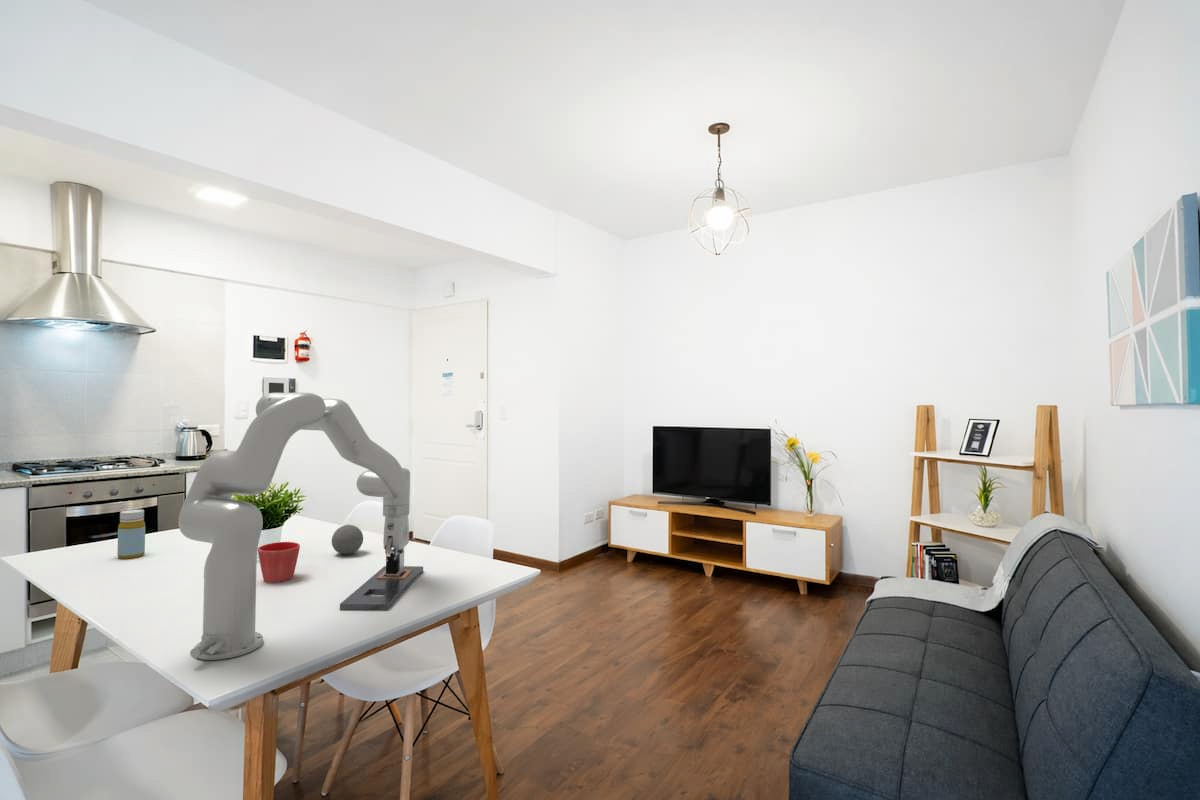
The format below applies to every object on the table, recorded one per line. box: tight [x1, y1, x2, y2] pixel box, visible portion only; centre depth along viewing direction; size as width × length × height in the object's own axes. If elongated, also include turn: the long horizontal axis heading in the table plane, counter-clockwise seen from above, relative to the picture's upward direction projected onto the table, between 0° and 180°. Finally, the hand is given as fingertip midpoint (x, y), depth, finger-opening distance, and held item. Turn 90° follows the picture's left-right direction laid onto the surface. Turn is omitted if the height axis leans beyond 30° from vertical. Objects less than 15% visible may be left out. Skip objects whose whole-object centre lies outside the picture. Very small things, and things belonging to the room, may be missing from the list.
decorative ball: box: [331, 524, 364, 556], centre depth 200 cm, size 10×10×10 cm
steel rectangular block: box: [386, 551, 405, 577], centre depth 173 cm, size 4×4×8 cm
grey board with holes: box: [339, 565, 424, 611], centre depth 165 cm, size 34×12×2 cm, turn 2°
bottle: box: [117, 509, 146, 560], centre depth 192 cm, size 7×7×15 cm
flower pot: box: [257, 541, 301, 583], centre depth 172 cm, size 11×11×10 cm
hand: (394, 570), depth 173 cm, fingers open, 5 cm apart
